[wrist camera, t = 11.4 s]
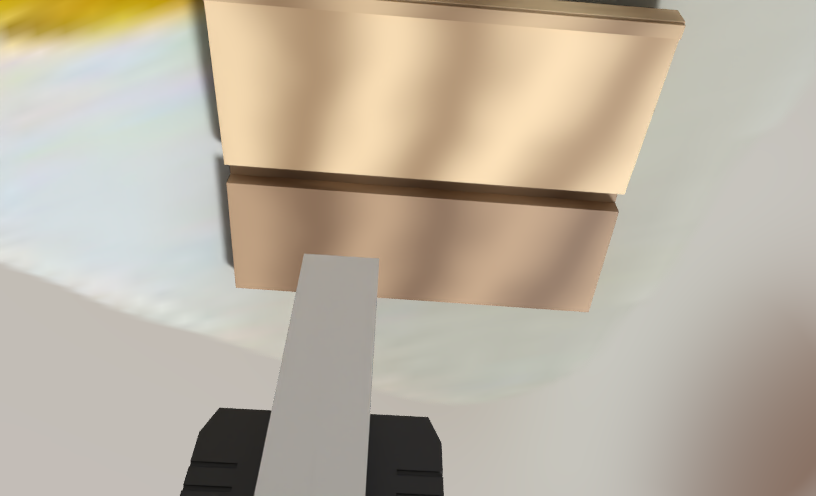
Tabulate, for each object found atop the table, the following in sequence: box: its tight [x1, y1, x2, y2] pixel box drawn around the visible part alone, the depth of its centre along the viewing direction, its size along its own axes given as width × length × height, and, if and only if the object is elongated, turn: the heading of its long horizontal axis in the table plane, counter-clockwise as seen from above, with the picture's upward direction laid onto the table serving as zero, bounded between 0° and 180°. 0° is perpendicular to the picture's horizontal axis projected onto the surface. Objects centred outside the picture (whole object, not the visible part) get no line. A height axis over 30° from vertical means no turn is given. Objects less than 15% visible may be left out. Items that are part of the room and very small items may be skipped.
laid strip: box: [226, 165, 619, 312], centre depth 37 cm, size 20×8×1 cm, turn 86°
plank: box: [204, 0, 685, 194], centre depth 32 cm, size 20×9×1 cm, turn 86°
